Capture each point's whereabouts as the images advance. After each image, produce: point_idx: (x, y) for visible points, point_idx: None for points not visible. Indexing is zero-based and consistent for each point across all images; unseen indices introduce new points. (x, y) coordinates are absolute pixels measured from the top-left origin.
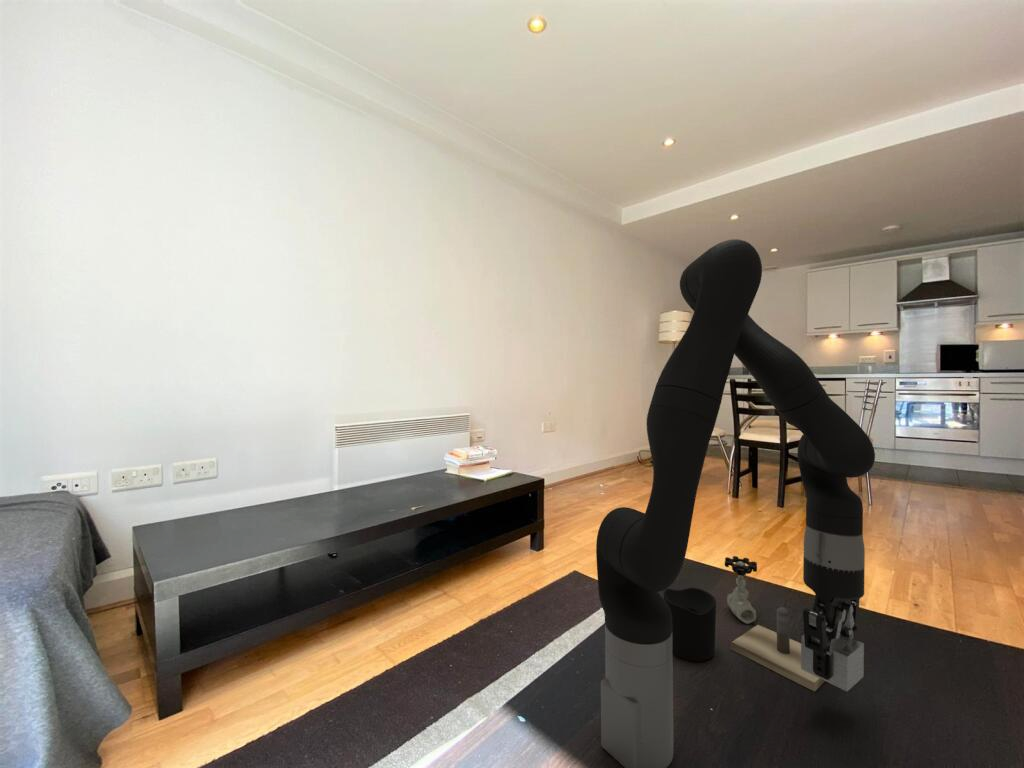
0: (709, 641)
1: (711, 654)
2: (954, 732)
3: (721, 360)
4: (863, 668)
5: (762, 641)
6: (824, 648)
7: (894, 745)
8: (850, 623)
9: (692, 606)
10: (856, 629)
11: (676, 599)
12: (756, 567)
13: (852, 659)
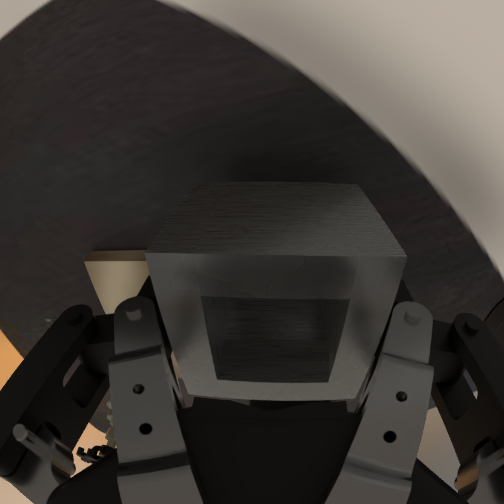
0: (299, 403)
1: None
2: (88, 45)
3: None
4: (189, 194)
5: (173, 358)
6: (484, 338)
7: (244, 79)
8: (170, 394)
9: None
10: (79, 314)
11: None
12: (88, 455)
13: (328, 233)
